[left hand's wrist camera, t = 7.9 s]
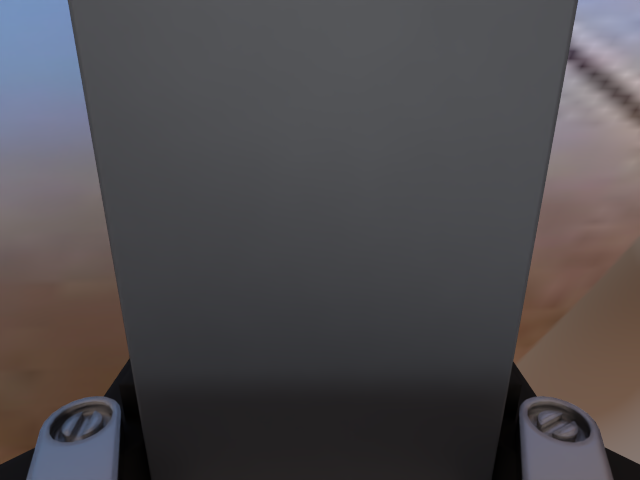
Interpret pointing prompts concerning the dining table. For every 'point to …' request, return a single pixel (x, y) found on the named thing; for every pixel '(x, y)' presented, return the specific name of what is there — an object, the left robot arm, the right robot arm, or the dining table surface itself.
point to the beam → (322, 224)
